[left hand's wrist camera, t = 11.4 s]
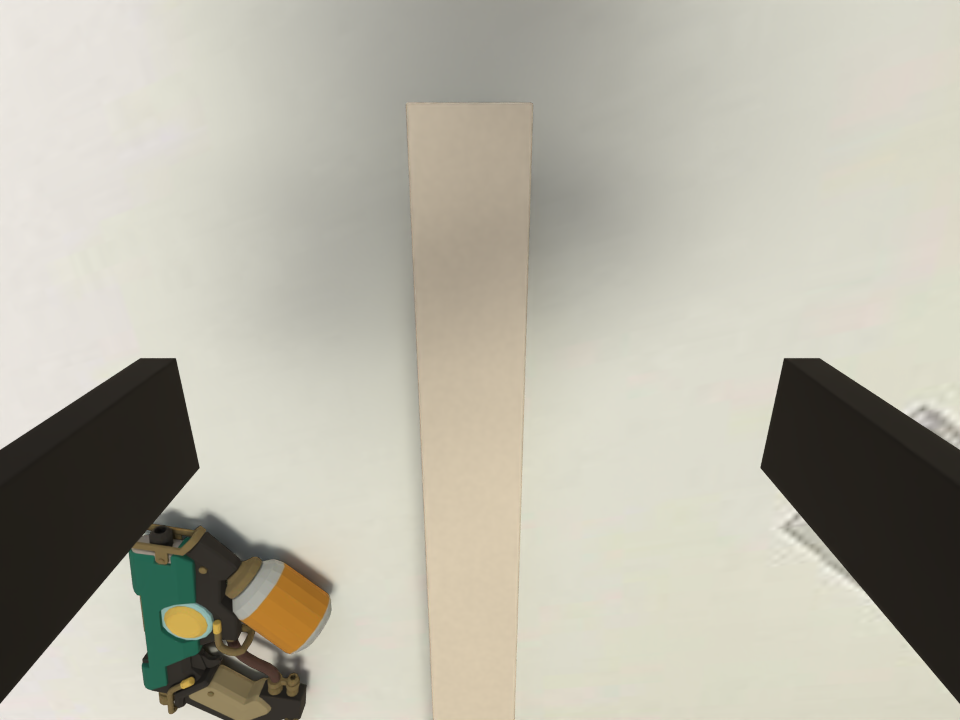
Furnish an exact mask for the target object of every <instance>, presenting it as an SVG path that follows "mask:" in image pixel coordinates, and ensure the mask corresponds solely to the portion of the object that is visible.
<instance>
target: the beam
mask: <svg viewBox="0 0 960 720" xmlns="http://www.w3.org/2000/svg"><path fill="white" fill-rule="evenodd" d="M406 119H407V142H408V164H409V187H410V210H411V232H412V255H413V277H414V300H415V322H416V345H417V368H418V390H419V413H420V435H421V458H422V481H423V503H424V526H425V548H426V571H427V593H428V616H429V639H430V661H431V684H432V706H433V720H515V687H516V654H517V621H518V588H519V555H520V522H521V488H522V455H523V422H524V389H525V356H526V323H527V290H528V257H529V224H530V191H531V158H532V125H533V103H406Z"/></svg>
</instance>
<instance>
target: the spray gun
mask: <svg viewBox="0 0 960 720" xmlns="http://www.w3.org/2000/svg"><path fill="white" fill-rule="evenodd" d="M147 530H151V532H150V534H149V535H144V536H142V537H141V538H140V539H139V540H138V541H137V542H136V544H135V545H134V546H133V547H132V548H131V550H130V551H129V559H130V567H131V575H132V584H133V589H134V592H135V593H136V594H137V595H140V601H141V609H142V617H143V625H144V631H145V636H146V644H147V653H146V655H145V656H144V658H143V659H142V660H143V663H142V672H143V680H144V685H145V687H146V688H147V689H149V690H152V691H157V692H159V700H160V703H161V704H162V705H168V712H169V714H173V713H174V712H176V711H177V709H178V708H180V707H183V706H184V705H185V704H186V703H188V704H190V705H192V706H194V707H197V708H199V709H201V710H203V711H206V712H208V713H210V714H212V715H215V716H217V717H219V718H221V719H223V720H282V719H284V720H298V719H300V718H301V715H302V712H303V709H304V707H305V703H306V685H305V684H300V679H299V677H298V674H296V673H292V674H290V675H289V676H288V678H283V677H282V674H281V673H280V672H279V671H278V670H277V668H276V667H275V666H273V665H272V664H270V663H268V662H266V661H264V660H262V659H259V658H258V657H256V656H254V655H252V654H251V653H249V652H248V651H247V649H248V647H249V646H250V644H251V643H252V640H253V637H254V634H255V631H256V632H257V633H259V634H260V635H262V636H263V637H265V638H266V639H267V640H269V641H270V642H272V643H273V644H274V645H276V646H277V647H279V648H280V649H281V650H283V651H284V652H286V653H289V654H294V653H296V652H299V651H301V650H303V649H305V648H307V647H308V646H309V645H310V644H311V643H312V642H313V641H314V640H315V639H316V638H317V637H318V635H319V634H320V633H321V631H322V629H323V628H324V626H325V625H326V623H327V621H328V619H329V617H330V614H331V600H330V596H329V594H328V593H326V592H325V591H323V590H322V589H321V588H319V587H318V586H316V585H315V584H314V583H312V582H311V581H309V580H308V579H307V578H305V577H304V576H302V575H301V574H300V573H298V572H297V571H295V570H294V569H293V568H291V567H290V566H288V565H287V564H286V563H284V562H281V561H278V560H276V559H271V560H266V561H262V560H261V559H260V558H258V557H252V558H250V559H248V560H246V561H243V562H242V561H241V560H240V559H239V558H238V557H237V556H236V555H235V554H234V553H232V552H231V551H230V550H229V549H228V548H226V547H225V546H224V545H223V544H222V543H220V542H219V541H218V540H217V539H215V538H214V537H213V536H212V535H211V534H209V533H208V532H206V529H205V528H203V527H202V526H199V527H198V528H196V529H195V530H189V529H183V528H177V527H170V526H165V525H157V524H152V525H151V526H150V527H149V528H148V529H147ZM182 535H184V536H191V538H189V537H186V538H185V539H184V540H183V541H182ZM226 580H227V585H226ZM241 621H242V622H243V623H245V624H246V625H245V624H241ZM241 632H247V633H248V635H247V637H246V640H245V641H244V643H243V645H242V646H241V645H240V643H239V641H238V638H239V636H240V634H241ZM222 640H226V641H227V643H228V646H227V645H225V644H224V643H223V641H222ZM214 641H215V645H216V648H217V649H218V650H219V651H220V652H222V653H224V654H226V655H229V656H236V657H237V658H238V659H239V660H240V661H242V662H243V663H245V664H247V665H248V666H250V667H251V668H254V669H256V670H258V671H260V672H263V673H265V674H266V675H267V676H269V677H268V678H262V679H260V680H258V681H253V680H251V679H249V678H247V677H245V676H243V675H241V674H240V673H238V672H236V671H234V670H232V669H231V668H229V667H227V666H225V665H220V663H221V660H222V657H221V656H216V657H215V656H211V655H209V654H208V653H207V652H206V651H205V650H204V649H203V645H204V644H207V643H211V642H214ZM174 701H175V703H174Z"/></svg>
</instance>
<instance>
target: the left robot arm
mask: <svg viewBox="0 0 960 720" xmlns="http://www.w3.org/2000/svg"><path fill="white" fill-rule="evenodd" d="M199 468H200V467H199V463H198V458H197V454H196V449H195V444H194V440H193V435H192V431H191V426H190V421H189V417H188V412H187V407H186V403H185V398H184V394H183V389H182V384H181V380H180V375H179V370H178V366H177V361H176V358H140V359H139V360H137V361H135V362H134V363H132V364H131V365H129V366H128V367H126V368H125V369H123V370H122V371H120V372H119V373H117V374H116V375H114V376H113V377H111V378H110V379H108V380H106V381H105V382H103V383H102V384H100V385H99V386H97V387H96V388H94V389H93V390H91V391H90V392H88V393H87V394H85V395H84V396H82V397H80V398H79V399H77V400H76V401H74V402H73V403H71V404H70V405H68V406H67V407H65V408H64V409H62V410H61V411H59V412H58V413H56V414H54V415H53V416H51V417H50V418H48V419H47V420H45V421H44V422H42V423H41V424H39V425H38V426H36V427H35V428H33V429H32V430H30V431H28V432H27V433H25V434H24V435H22V436H21V437H19V438H18V439H16V440H15V441H13V442H12V443H10V444H9V445H7V446H6V447H4V448H2V449H1V450H0V703H1V702H2V701H3V700H4V699H5V697H6V696H7V695H8V694H9V693H10V691H11V690H12V689H13V688H14V687H15V686H16V684H17V683H18V682H19V681H20V680H21V678H22V677H23V676H24V675H25V674H26V673H27V671H28V670H29V669H30V668H31V667H32V665H33V664H34V663H35V662H36V661H37V660H38V658H39V657H40V656H41V655H42V654H43V652H44V651H45V650H46V649H47V648H48V647H49V645H50V644H51V643H52V642H53V641H54V639H55V638H56V637H57V636H58V635H59V634H60V632H61V631H62V630H63V629H64V628H65V626H66V625H67V624H68V623H69V622H70V621H71V619H72V618H73V617H74V616H75V615H76V613H77V612H78V611H79V610H80V609H81V608H82V606H83V605H84V604H85V603H86V602H87V600H88V599H89V598H90V597H91V596H92V594H93V593H94V592H95V591H96V590H97V589H98V587H99V586H100V585H101V584H102V583H103V581H104V580H105V579H106V578H107V577H108V576H109V574H110V573H111V572H112V571H113V570H114V568H115V567H116V566H117V565H118V564H119V563H120V561H121V560H122V559H123V558H124V557H125V555H126V554H127V553H128V552H129V551H130V550H131V548H132V547H133V546H134V545H135V544H136V542H137V541H138V540H139V539H140V538H141V537H142V535H143V534H144V533H145V532H146V531H147V529H148V528H149V527H150V526H151V525H152V524H153V522H154V521H155V520H156V519H157V518H158V516H159V515H160V514H161V513H162V512H163V511H164V509H165V508H166V507H167V506H168V505H169V503H170V502H171V501H172V500H173V499H174V498H175V496H176V495H177V494H178V493H179V492H180V490H181V489H182V488H183V487H184V486H185V484H186V483H187V482H188V481H189V480H190V479H191V477H192V476H193V475H194V474H195V473H196V471H197V470H198V469H199ZM760 468H761V469H762V470H763V471H764V473H765V474H766V475H767V476H768V477H769V479H770V480H771V481H772V482H773V483H774V484H775V486H776V487H777V488H778V489H779V490H780V492H781V493H782V494H783V495H784V496H785V498H786V499H787V500H788V501H789V502H790V503H791V505H792V506H793V507H794V508H795V509H796V511H797V512H798V513H799V514H800V515H801V516H802V518H803V519H804V520H805V521H806V522H807V524H808V525H809V526H810V527H811V528H812V529H813V531H814V532H815V533H816V534H817V535H818V537H819V538H820V539H821V540H822V541H823V542H824V544H825V545H826V546H827V547H828V548H829V550H830V551H831V552H832V553H833V554H834V555H835V557H836V558H837V559H838V560H839V561H840V563H841V564H842V565H843V566H844V567H845V568H846V570H847V571H848V572H849V573H850V574H851V576H852V577H853V578H854V579H855V580H856V581H857V583H858V584H859V585H860V586H861V587H862V589H863V590H864V591H865V592H866V593H867V594H868V596H869V597H870V598H871V599H872V600H873V602H874V603H875V604H876V605H877V606H878V608H879V609H880V610H881V611H882V612H883V613H884V615H885V616H886V617H887V618H888V619H889V621H890V622H891V623H892V624H893V625H894V626H895V628H896V629H897V630H898V631H899V632H900V634H901V635H902V636H903V637H904V638H905V639H906V641H907V642H908V643H909V644H910V645H911V647H912V648H913V649H914V650H915V651H916V652H917V654H918V655H919V656H920V657H921V658H922V660H923V661H924V662H925V663H926V664H927V665H928V667H929V668H930V669H931V670H932V671H933V673H934V674H935V675H936V676H937V677H938V678H939V680H940V681H941V682H942V683H943V684H944V686H945V687H946V688H947V689H948V690H949V691H950V693H951V694H952V695H953V696H954V697H955V699H956V700H957V701H958V702H959V703H960V450H959V449H958V448H956V447H954V446H953V445H951V444H950V443H948V442H947V441H945V440H944V439H942V438H941V437H939V436H938V435H936V434H935V433H933V432H932V431H930V430H928V429H927V428H925V427H924V426H922V425H921V424H919V423H918V422H916V421H915V420H913V419H912V418H910V417H909V416H907V415H906V414H904V413H902V412H901V411H899V410H898V409H896V408H895V407H893V406H892V405H890V404H889V403H887V402H886V401H884V400H883V399H881V398H880V397H878V396H876V395H875V394H873V393H872V392H870V391H869V390H867V389H866V388H864V387H863V386H861V385H860V384H858V383H857V382H855V381H854V380H852V379H850V378H849V377H847V376H846V375H844V374H843V373H841V372H840V371H838V370H837V369H835V368H834V367H832V366H831V365H829V364H828V363H826V362H825V361H823V360H821V359H820V358H784V361H783V366H782V370H781V375H780V380H779V384H778V389H777V394H776V398H775V403H774V407H773V412H772V417H771V421H770V426H769V431H768V435H767V440H766V444H765V449H764V454H763V458H762V463H761V467H760Z"/></svg>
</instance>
